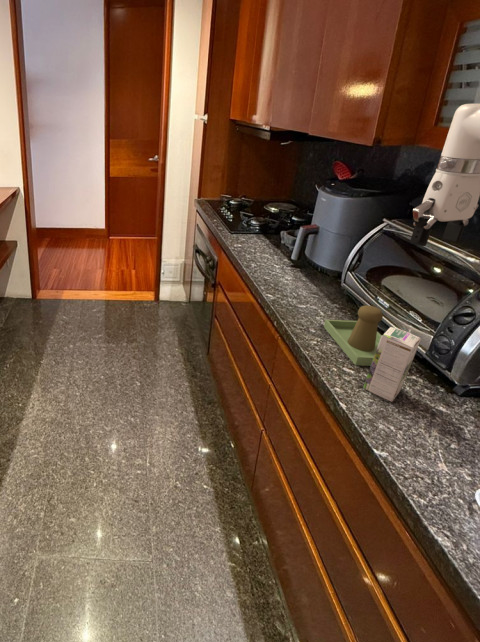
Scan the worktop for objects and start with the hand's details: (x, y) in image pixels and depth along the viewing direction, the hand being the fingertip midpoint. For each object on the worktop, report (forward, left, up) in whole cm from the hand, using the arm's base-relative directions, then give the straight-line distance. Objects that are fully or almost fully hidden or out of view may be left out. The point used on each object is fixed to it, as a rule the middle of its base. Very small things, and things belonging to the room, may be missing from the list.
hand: (434, 242), depth 88 cm
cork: (+6, +5, -30) cm, 31 cm away
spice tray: (+6, +5, -30) cm, 31 cm away
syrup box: (-6, +18, -31) cm, 36 cm away
